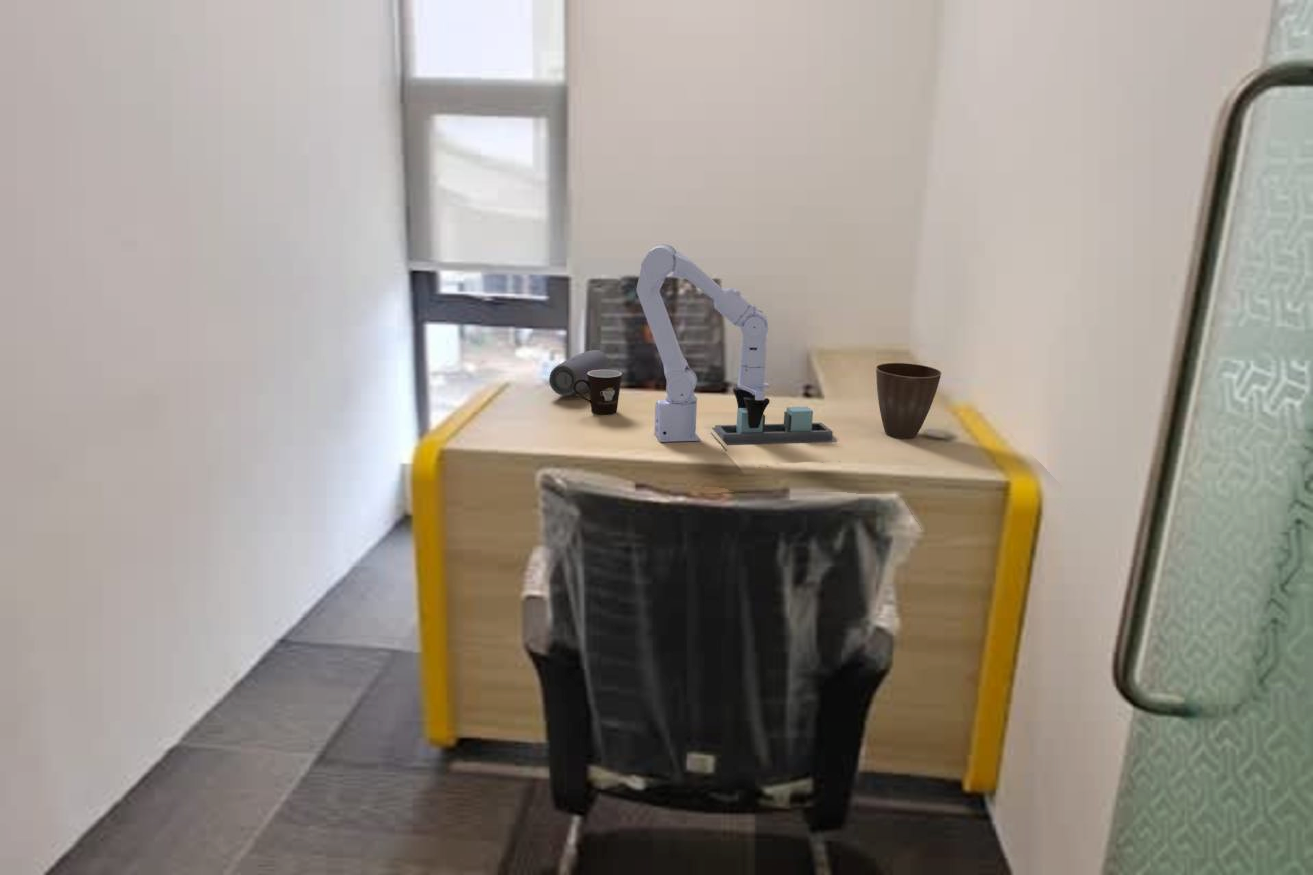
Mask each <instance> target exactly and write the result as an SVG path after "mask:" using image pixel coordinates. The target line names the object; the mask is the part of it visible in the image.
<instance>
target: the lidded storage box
mask: <svg viewBox="0 0 1313 875" xmlns="http://www.w3.org/2000/svg"><path fill="white" fill-rule="evenodd" d="M736 413H737V415H736V425H737V428H736V433H747V432H762V431H764V428H765V424H766V415H765V414H764V413H763V415H762V419H761V422H760V425H759V428H749V424H748V413H747V408H738V407H737V412H736Z"/></svg>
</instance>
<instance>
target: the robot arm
mask: <svg viewBox="0 0 1313 875" xmlns="http://www.w3.org/2000/svg"><path fill="white" fill-rule="evenodd" d="M676 250H677V249H675V248H674V247H673V246H672V245H671V244H667V243H666V244H664V243H662V244H659V245H657V246H655V247H654V248H652V249H651V250H649V251H648V252H647V253H646V255H645V257H644V259H643V260H642V262H641V263H640V270H639V271H640V272H639V275H638V281H637V285H636V294H637V296H638V299H639V302H640V305H641V307H642V311H643V313H644V316H645V318H646V322H647V325H648V326H649V328H650V329H649V330H650V332H651V335H652V337H653V340H654V343H655V346H656V348H657V350H658V355H659V356H660V360H661V361H662V365H663V372H664V374H663V375H664V376H665V380H666V386H665V391H666V394H667V395H666V396H665V399H660V400H656V401H655V407H654V408H655V409H654V430H653V433H654V434H655V436H656V438H657V439H658V441H659V442H660V443H664V442H665V443H666V442H667V443H668V442H671V443H672V442H694V441H697V442H699V441H701V437H699V435H698V434H697V433H696V431H697V410H698V409H697V408H698V397H697V396H696V395H695V394H694V391H695V389H696V388H697V385H698V377H697V373H695V372H694V371H693V370H692V369H691V368H690V365H689V364H688V361H687V359H686V358H685V357H684V355H683V352H682V349H681V348H680V344H679V341H678V339H677V336H676V332H675V330H674V327H673V324H672V322H671V319H670V317H669V313H668V311H667V308H666V305H665V303H664V300H663V297H662V294H661V288H662V287H663V284H664V282H665V281H666V278H667V277H668V275H670V273H671V272H672V274H671V277H672V278H679V279H685V280H687V281H688V282H690V283H691V284H692V285H694V286H695V287H696V288H698V289H699V290H700V291H701V292H702V293H704V294H705V295H706V296H708V298H710V299H712V300H713V304H714V305H713V306H714V309H715V311H717V312H719V313H720V314H721V315H722V316H723V317H724V318H725V319H727V320H728V321H729V322H730V323H731V324H732V325H734V326H735V327H739V328H740V331H741V335H742V340H741V341H742V343H741V344H740V356H739V374H738V382H737V387H733V388H732V391H733V394H734V396H735V399H736V404H737V409H738V408H747V413H748V424H749V428H759V425H760V422H761V419H762V415H763V414H764V412H765V410H766V408H767V407H768V405H769V404H770V399H769V398H768V397H767V398H766V392H765V388H766V389H768V388H770V384H769V383H768V382H765V375H766V374H765V373H766V372H765V371H766V361H767V344H766V343H767V340H768V339H767V334H768V332H769V320H768V318H767V315H766V314H765V313H764V312H763V310H761V309H758V306H756V305H755V304H753V305H752V304H751V303H750V302H748V301H747V300H746V299H745V298H743V297H742V296H741V295H742V292H741V291H740V290H739V289H735V290H734V289H733V288H723V287H722V286H720V284H718V283H717V282H716V281H715V280H714V279H713V278H711V277H710V276H709V275H708V274H707V273H706V272H704V271H703V270H702V268H700V266H698V265H697V264H696V263H694V261H692V259H690V258H688V256H686V255H685V254H683V253H682V252H680V251H676Z"/></svg>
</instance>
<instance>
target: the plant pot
mask: <svg viewBox="0 0 1313 875" xmlns="http://www.w3.org/2000/svg"><path fill="white" fill-rule="evenodd" d="M875 373H876V376H875V377H876V390H877V391H876V392H877V402H878V406H879V413H880V418H881V422H882V426H883V430H884V433H885V435H887V436H890V437H892V438H896V437H899V438H898V439H904V438H908V439H911V438H910V437H914V438H916V437H917V436H918V434H919V433H920V430H921V429H922V426H923V425H924V422H925V421H926V418H927V416H928V414H929V412H930V409H931V408H932V404H933V402H934V399H935V396H936V393H937V390H938V387H939V384H940V380H941V378H942V377H941V376H942V371H940V370H939V369H937V368H934V367H931V366H927V365H921V364H916V363H906V362H904V363H903V362H888V363H881V364H878V365H877V366H876V368H875ZM915 436H916V437H915Z"/></svg>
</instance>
